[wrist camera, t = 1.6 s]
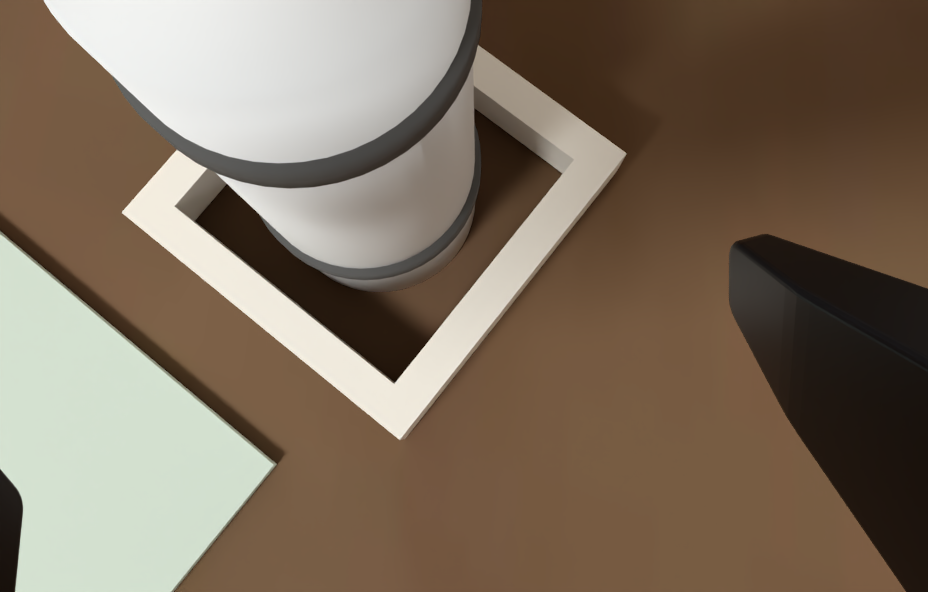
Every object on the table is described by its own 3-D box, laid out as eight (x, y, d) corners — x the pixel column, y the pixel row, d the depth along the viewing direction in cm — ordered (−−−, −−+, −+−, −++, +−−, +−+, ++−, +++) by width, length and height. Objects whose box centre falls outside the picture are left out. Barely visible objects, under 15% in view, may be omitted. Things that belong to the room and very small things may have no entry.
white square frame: (616, 171, 22) (626, 153, 20) (405, 438, 21) (399, 440, 19) (359, -18, 23) (351, -48, 22) (145, 226, 22) (121, 212, 20)
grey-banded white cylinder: (520, 183, 22) (580, -154, 9) (395, 338, 21) (267, 210, 8) (368, 68, 23) (222, -397, 10) (241, 215, 22) (-92, -76, 9)
